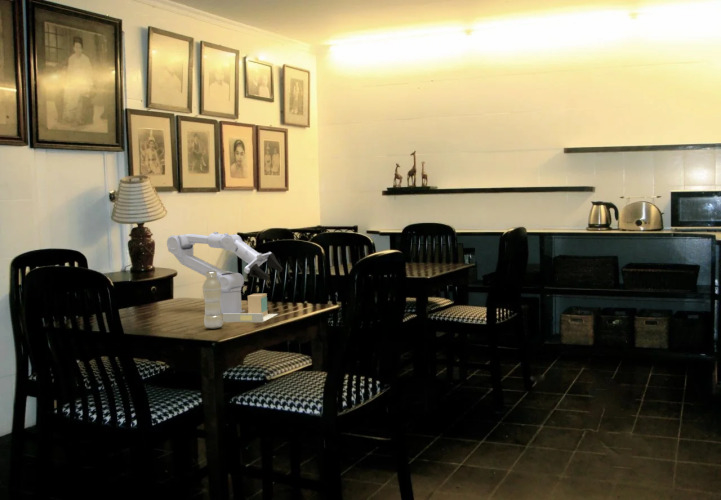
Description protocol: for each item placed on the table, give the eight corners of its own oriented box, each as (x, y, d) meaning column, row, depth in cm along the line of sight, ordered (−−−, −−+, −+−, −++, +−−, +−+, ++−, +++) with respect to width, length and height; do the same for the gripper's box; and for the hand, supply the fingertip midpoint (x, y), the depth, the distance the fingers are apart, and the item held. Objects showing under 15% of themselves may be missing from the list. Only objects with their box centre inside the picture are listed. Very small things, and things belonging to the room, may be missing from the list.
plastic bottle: (214, 326, 260) (212, 270, 259) (227, 327, 256) (224, 271, 255) (200, 329, 255) (197, 272, 254) (212, 330, 251) (209, 272, 250)
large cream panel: (222, 323, 265) (222, 313, 265) (241, 315, 283) (241, 306, 282) (262, 323, 262) (261, 313, 262) (278, 315, 280) (278, 306, 279)
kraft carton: (248, 317, 274) (247, 296, 273) (255, 314, 280) (254, 293, 280) (261, 317, 272) (260, 296, 272) (268, 314, 279) (267, 293, 279)
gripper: (237, 255, 275) (263, 275, 271) (263, 239, 285) (289, 258, 281) (234, 268, 280) (260, 288, 275) (260, 253, 290) (285, 272, 286)
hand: (274, 274), depth 278 cm, fingers open, 7 cm apart
